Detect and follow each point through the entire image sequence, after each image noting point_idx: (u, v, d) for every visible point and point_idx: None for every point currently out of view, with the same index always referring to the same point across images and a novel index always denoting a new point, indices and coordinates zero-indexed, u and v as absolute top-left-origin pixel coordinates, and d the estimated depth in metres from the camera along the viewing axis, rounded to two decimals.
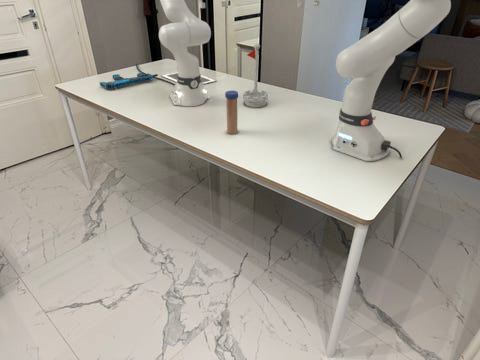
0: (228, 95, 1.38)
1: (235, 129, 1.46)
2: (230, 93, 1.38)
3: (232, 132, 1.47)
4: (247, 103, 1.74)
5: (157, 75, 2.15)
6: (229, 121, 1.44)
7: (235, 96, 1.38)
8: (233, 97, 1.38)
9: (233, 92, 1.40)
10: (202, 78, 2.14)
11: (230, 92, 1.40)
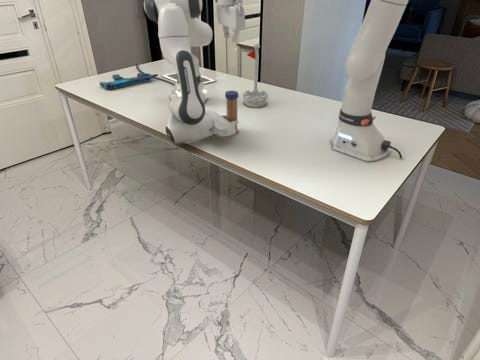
0: (228, 95, 1.38)
1: None
2: (230, 93, 1.38)
3: None
4: (247, 103, 1.74)
5: (157, 75, 2.15)
6: (229, 121, 1.44)
7: (235, 96, 1.38)
8: (233, 97, 1.38)
9: (233, 92, 1.40)
10: (202, 78, 2.14)
11: (230, 92, 1.40)
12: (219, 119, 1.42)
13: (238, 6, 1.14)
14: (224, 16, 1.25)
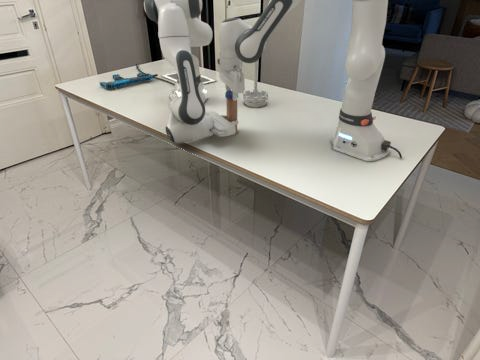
0: (228, 95, 1.38)
1: None
2: (230, 93, 1.38)
3: None
4: (247, 103, 1.74)
5: (157, 75, 2.15)
6: (229, 121, 1.44)
7: None
8: None
9: None
10: (202, 78, 2.14)
11: (230, 92, 1.40)
12: (219, 119, 1.42)
13: (238, 73, 1.27)
14: (225, 77, 1.37)
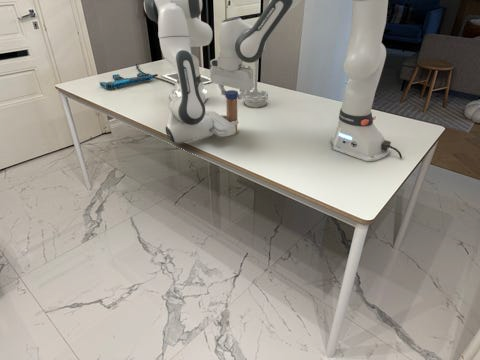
0: (234, 95, 1.38)
1: None
2: (233, 93, 1.38)
3: None
4: (247, 103, 1.74)
5: (157, 75, 2.15)
6: (229, 121, 1.44)
7: (237, 94, 1.40)
8: (237, 95, 1.39)
9: (232, 91, 1.40)
10: (202, 78, 2.14)
11: (230, 92, 1.39)
12: (219, 119, 1.42)
13: (249, 70, 1.29)
14: (225, 78, 1.36)
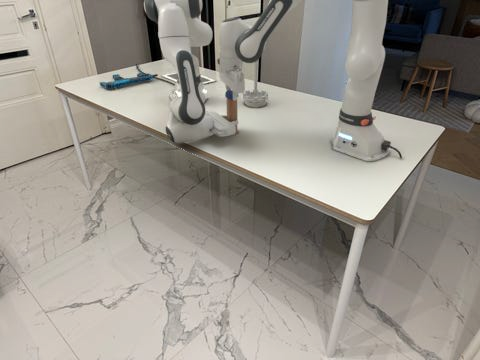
0: None
1: None
2: None
3: None
4: (247, 103, 1.74)
5: (157, 75, 2.15)
6: (229, 121, 1.44)
7: None
8: (237, 95, 1.39)
9: None
10: (202, 78, 2.14)
11: (230, 92, 1.39)
12: (219, 119, 1.42)
13: (238, 73, 1.27)
14: (226, 77, 1.37)
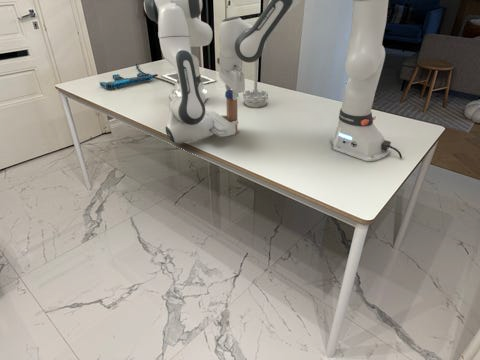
0: None
1: None
2: None
3: None
4: (247, 103, 1.74)
5: (157, 75, 2.15)
6: (229, 121, 1.44)
7: None
8: None
9: (230, 91, 1.40)
10: (202, 78, 2.14)
11: (231, 92, 1.39)
12: (219, 119, 1.42)
13: (238, 72, 1.26)
14: (225, 76, 1.37)
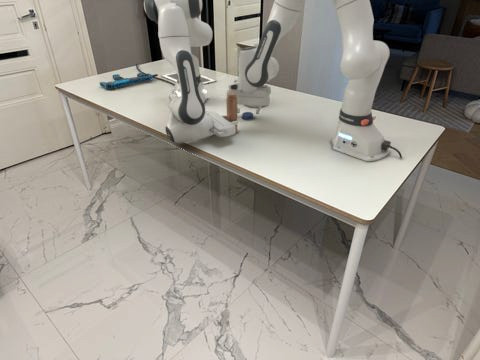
0: None
1: (235, 130, 1.46)
2: (248, 113, 1.62)
3: None
4: None
5: (157, 75, 2.15)
6: (229, 121, 1.44)
7: None
8: None
9: (246, 114, 1.61)
10: (202, 78, 2.14)
11: (248, 114, 1.61)
12: (219, 119, 1.42)
13: (267, 89, 1.53)
14: (244, 98, 1.55)
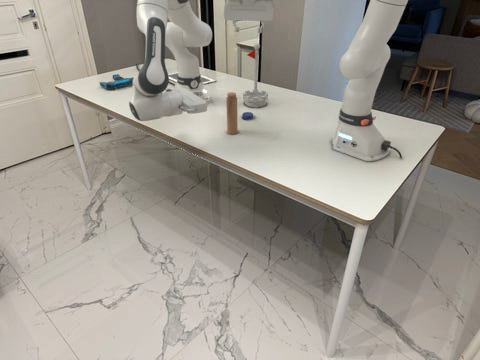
0: None
1: (235, 130, 1.46)
2: (248, 113, 1.62)
3: (232, 132, 1.47)
4: (247, 103, 1.74)
5: None
6: (229, 121, 1.44)
7: None
8: None
9: (246, 114, 1.61)
10: (202, 78, 2.14)
11: (248, 114, 1.61)
12: (190, 95, 1.30)
13: None
14: (244, 11, 1.36)
